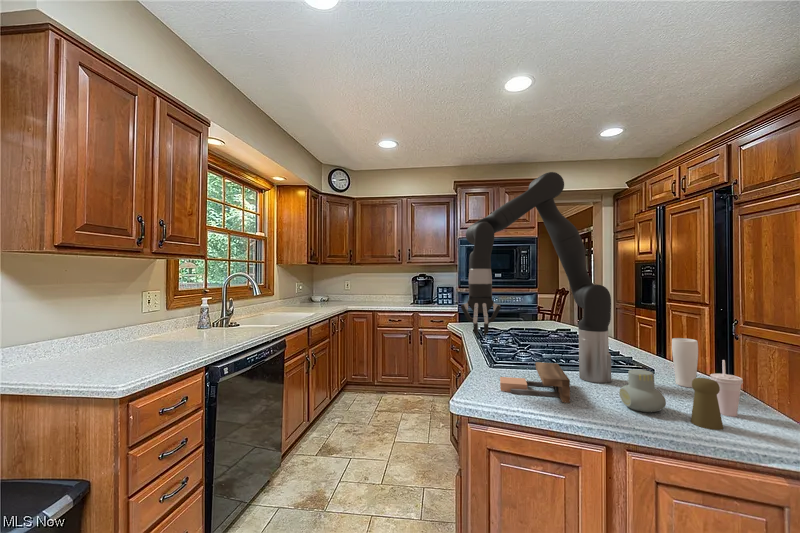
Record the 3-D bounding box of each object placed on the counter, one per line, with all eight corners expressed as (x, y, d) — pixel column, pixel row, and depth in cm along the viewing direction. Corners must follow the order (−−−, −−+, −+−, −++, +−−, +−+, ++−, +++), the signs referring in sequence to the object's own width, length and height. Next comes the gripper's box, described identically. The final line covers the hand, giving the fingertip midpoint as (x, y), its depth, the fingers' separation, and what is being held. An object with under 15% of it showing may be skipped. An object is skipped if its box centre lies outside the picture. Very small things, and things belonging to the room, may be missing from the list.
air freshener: (670, 417, 91) (669, 378, 91) (634, 415, 92) (633, 376, 92) (648, 402, 102) (647, 367, 102) (616, 400, 103) (616, 366, 103)
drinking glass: (699, 385, 117) (698, 339, 117) (698, 390, 112) (697, 342, 112) (674, 381, 121) (672, 337, 122) (671, 385, 116) (670, 339, 117)
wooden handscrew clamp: (557, 382, 121) (557, 363, 121) (570, 403, 101) (569, 380, 102) (508, 379, 125) (508, 360, 125) (511, 398, 105) (511, 376, 106)
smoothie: (704, 409, 96) (702, 357, 96) (726, 408, 96) (724, 356, 97) (728, 419, 89) (726, 363, 90) (751, 418, 90) (749, 362, 90)
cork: (729, 430, 83) (728, 383, 83) (700, 428, 84) (698, 382, 84) (712, 420, 89) (711, 376, 89) (685, 418, 90) (683, 375, 90)
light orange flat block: (525, 386, 117) (525, 378, 117) (527, 392, 110) (527, 384, 111) (500, 384, 119) (500, 376, 119) (500, 390, 112) (500, 382, 113)
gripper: (501, 282, 120) (502, 333, 120) (460, 282, 124) (460, 332, 123) (502, 282, 113) (502, 337, 112) (458, 282, 116) (458, 335, 116)
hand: (480, 334), depth 118 cm, fingers closed
